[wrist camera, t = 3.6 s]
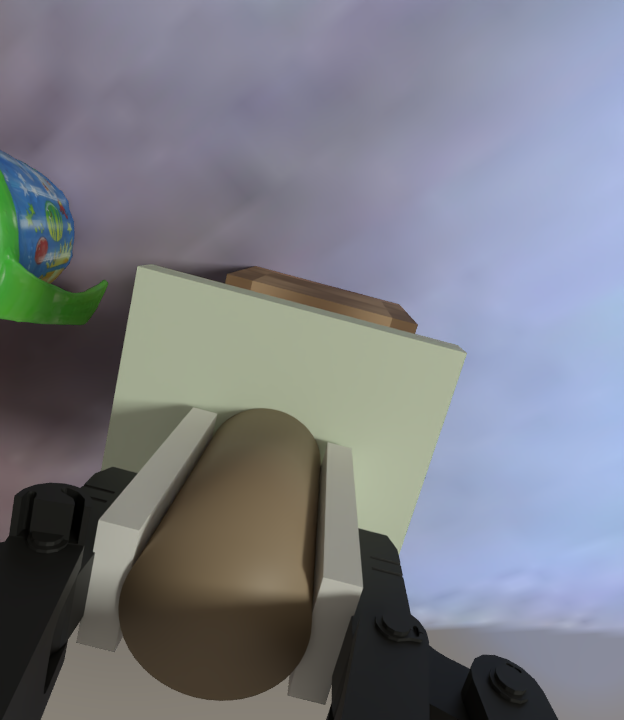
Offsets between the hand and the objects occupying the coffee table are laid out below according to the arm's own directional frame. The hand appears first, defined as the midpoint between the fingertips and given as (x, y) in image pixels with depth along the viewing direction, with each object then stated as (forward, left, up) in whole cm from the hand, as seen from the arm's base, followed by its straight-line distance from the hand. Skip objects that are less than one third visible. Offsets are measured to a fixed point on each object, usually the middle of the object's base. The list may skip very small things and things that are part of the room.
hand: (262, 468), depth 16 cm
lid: (0, 0, -2) cm, 2 cm away
